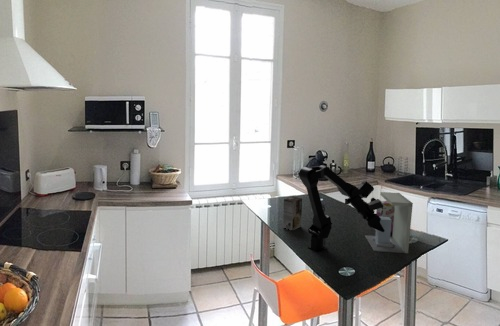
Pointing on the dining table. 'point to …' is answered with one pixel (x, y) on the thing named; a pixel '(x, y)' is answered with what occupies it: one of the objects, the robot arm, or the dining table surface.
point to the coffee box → (292, 213)
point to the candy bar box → (386, 212)
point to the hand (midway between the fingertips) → (381, 228)
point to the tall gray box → (384, 236)
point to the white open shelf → (396, 225)
